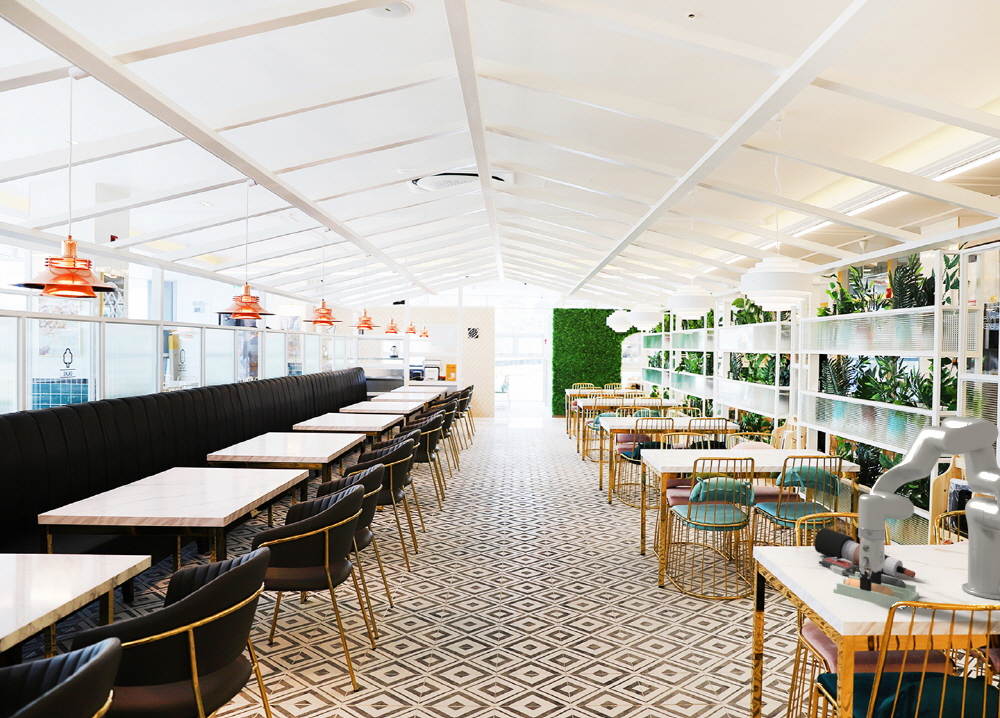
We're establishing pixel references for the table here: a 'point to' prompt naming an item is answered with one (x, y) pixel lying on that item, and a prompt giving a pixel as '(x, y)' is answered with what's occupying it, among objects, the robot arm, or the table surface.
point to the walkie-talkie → (840, 566)
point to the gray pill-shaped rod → (891, 581)
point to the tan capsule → (874, 587)
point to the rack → (875, 597)
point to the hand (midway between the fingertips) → (870, 586)
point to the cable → (853, 551)
